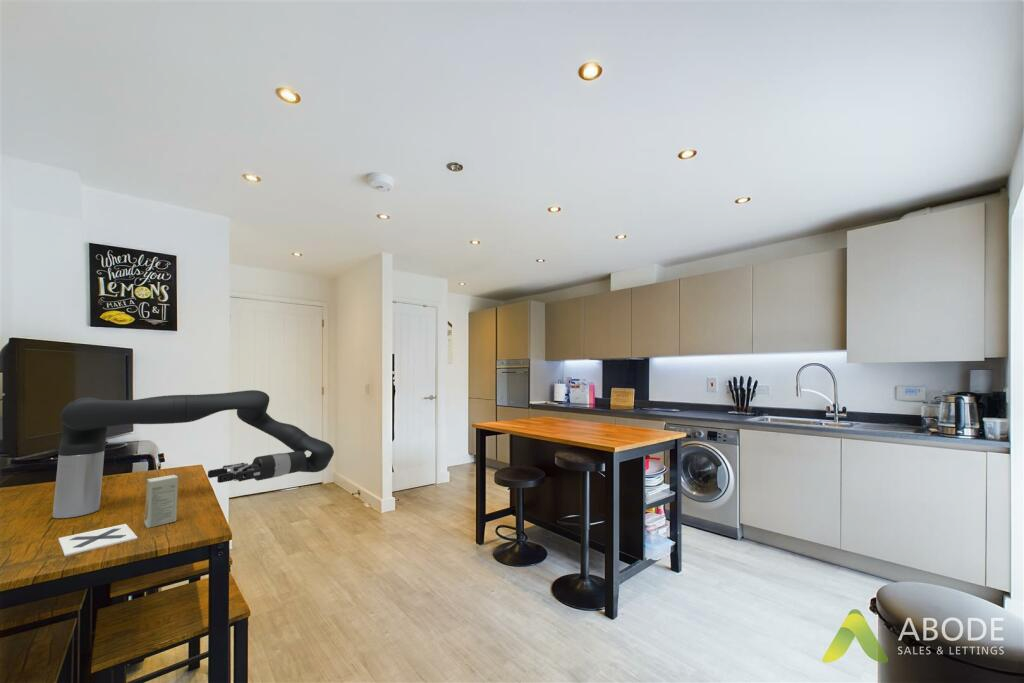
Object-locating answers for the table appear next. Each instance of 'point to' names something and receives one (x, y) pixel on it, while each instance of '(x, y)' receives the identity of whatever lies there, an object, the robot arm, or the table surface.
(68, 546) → the letter card
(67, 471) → the robot arm
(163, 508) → the skincare box
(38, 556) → the table surface
